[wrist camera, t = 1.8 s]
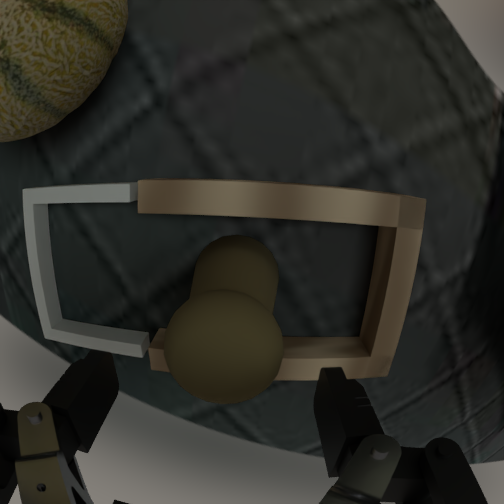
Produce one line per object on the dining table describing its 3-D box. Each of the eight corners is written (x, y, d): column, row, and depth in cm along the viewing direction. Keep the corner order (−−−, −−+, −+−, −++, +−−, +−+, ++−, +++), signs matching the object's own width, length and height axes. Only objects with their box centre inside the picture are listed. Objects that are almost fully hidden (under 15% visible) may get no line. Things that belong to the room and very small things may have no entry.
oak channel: (406, 194, 20) (426, 199, 17) (375, 355, 23) (387, 376, 20) (153, 178, 20) (137, 180, 17) (161, 348, 23) (151, 369, 20)
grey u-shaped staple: (140, 182, 20) (129, 183, 18) (150, 344, 23) (142, 357, 21) (37, 186, 20) (22, 189, 18) (55, 328, 23) (44, 338, 21)
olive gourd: (244, 328, 23) (236, 439, 12) (178, 282, 22) (121, 374, 11) (296, 269, 21) (330, 360, 11) (227, 217, 20) (196, 268, 10)
